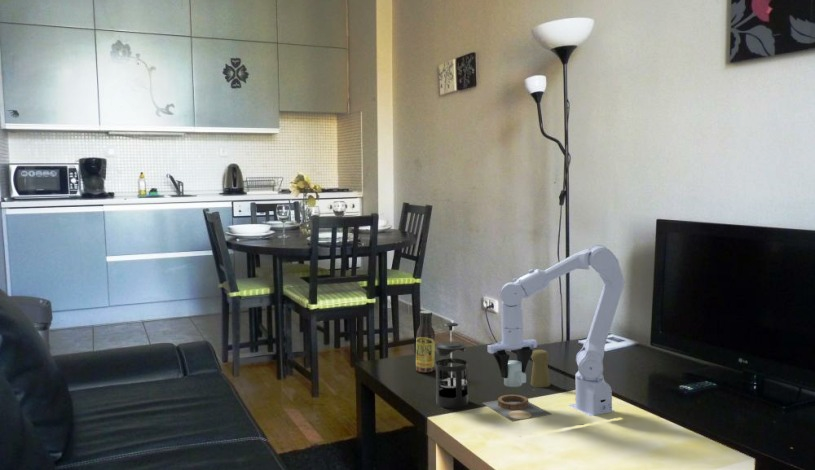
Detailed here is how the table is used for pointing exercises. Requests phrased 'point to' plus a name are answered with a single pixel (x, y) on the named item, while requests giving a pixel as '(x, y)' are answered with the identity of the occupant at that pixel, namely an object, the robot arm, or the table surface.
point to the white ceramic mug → (515, 374)
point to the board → (516, 408)
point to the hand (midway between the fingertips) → (512, 376)
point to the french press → (451, 387)
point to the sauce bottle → (425, 344)
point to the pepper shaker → (540, 369)
